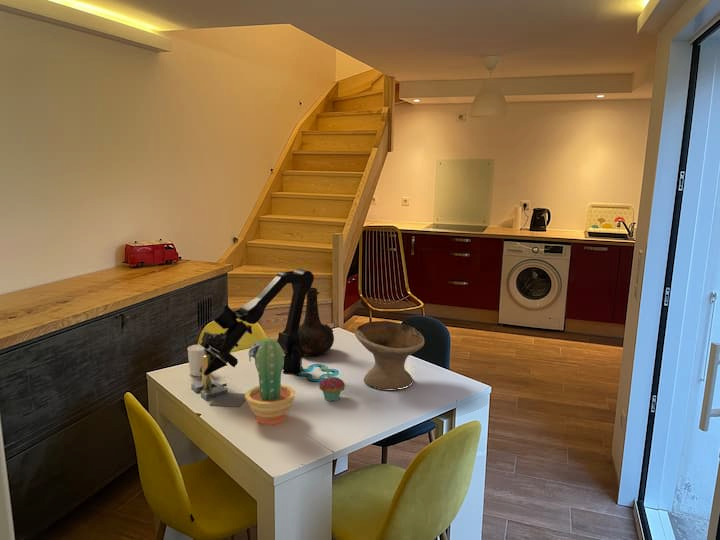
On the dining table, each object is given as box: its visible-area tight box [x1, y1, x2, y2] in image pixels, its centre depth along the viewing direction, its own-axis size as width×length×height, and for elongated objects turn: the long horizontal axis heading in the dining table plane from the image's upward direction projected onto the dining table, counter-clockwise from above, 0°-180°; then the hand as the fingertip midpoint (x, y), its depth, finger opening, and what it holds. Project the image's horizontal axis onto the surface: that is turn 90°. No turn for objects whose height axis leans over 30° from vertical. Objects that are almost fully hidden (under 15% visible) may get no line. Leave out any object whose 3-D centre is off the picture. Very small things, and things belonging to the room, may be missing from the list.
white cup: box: [187, 343, 205, 377], centre depth 197 cm, size 8×8×10 cm
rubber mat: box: [209, 392, 246, 408], centre depth 174 cm, size 10×10×1 cm
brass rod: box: [201, 354, 212, 390], centre depth 179 cm, size 3×3×13 cm
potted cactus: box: [244, 337, 296, 426], centre depth 159 cm, size 15×15×25 cm
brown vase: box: [298, 287, 335, 357], centre depth 222 cm, size 18×18×28 cm
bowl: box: [354, 320, 425, 390], centre depth 191 cm, size 26×25×20 cm
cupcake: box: [318, 364, 346, 401], centre depth 176 cm, size 9×8×12 cm
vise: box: [190, 378, 229, 401], centre depth 181 cm, size 10×12×2 cm
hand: (202, 373), depth 178 cm, fingers closed on brass rod, 3 cm apart
